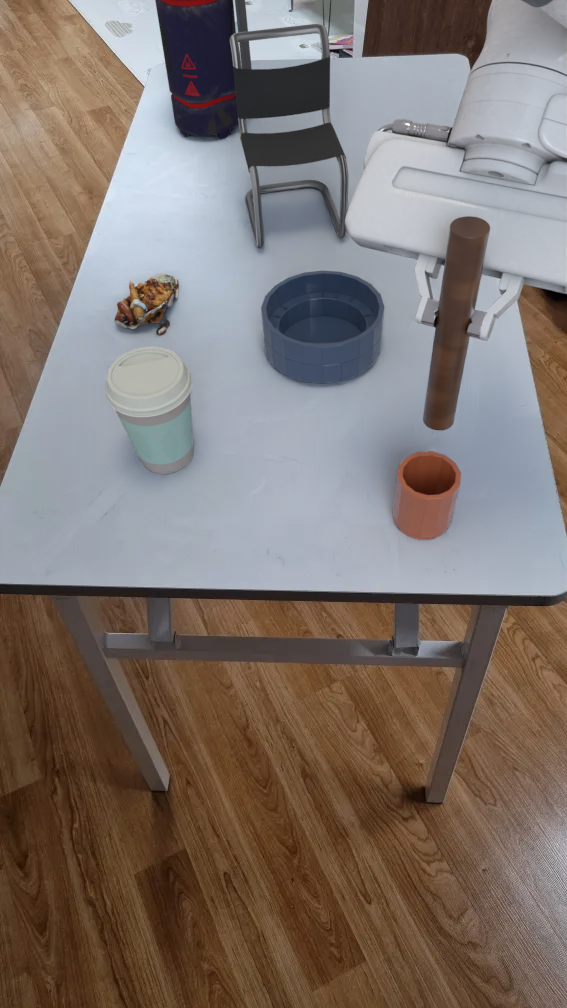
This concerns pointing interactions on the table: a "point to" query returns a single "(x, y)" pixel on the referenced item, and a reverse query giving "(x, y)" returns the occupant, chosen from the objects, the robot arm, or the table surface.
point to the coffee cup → (154, 406)
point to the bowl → (322, 326)
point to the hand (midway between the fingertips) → (451, 331)
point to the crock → (426, 494)
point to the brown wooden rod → (454, 318)
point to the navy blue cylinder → (202, 62)
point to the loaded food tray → (148, 303)
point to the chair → (283, 97)
